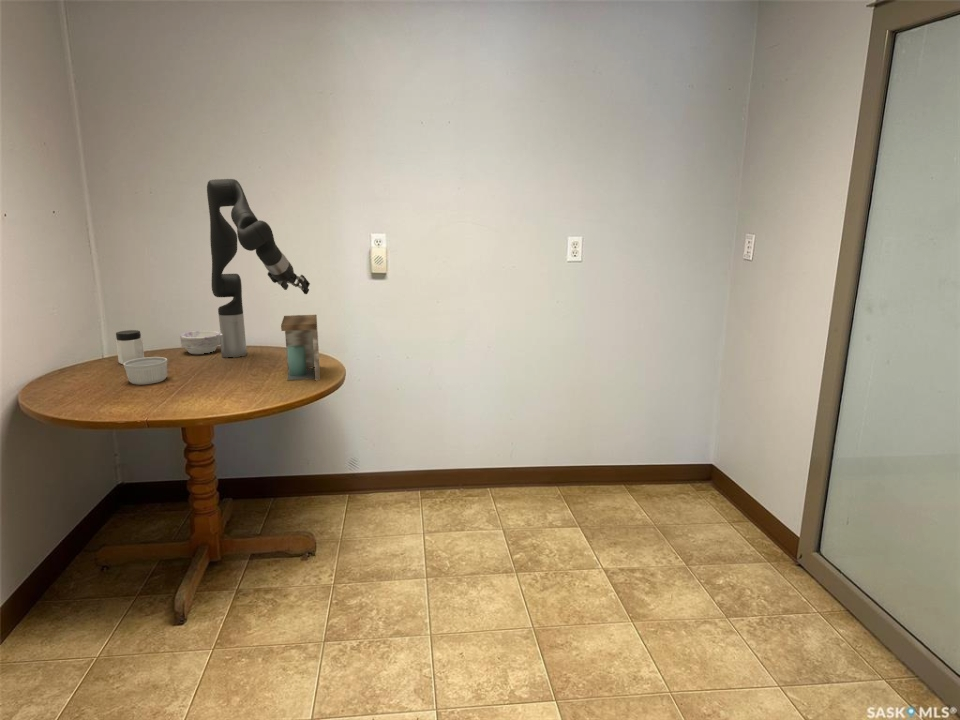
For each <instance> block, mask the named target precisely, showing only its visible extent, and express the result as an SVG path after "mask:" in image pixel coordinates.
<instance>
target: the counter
mask: <svg viewBox="0 0 960 720" xmlns="http://www.w3.org/2000/svg"><path fill="white" fill-rule="evenodd" d="M317 315H318V314H300V315H299V314H297V315H294V314H293V315H283V318H282V321H281V325H280V326H281V327H280V329H281V332H284V334H285V337H284V338H285V346H286V349H285V350H286V360H287V365H286V366H287V370H289V364H288V349H287V347H288V346H293V345H303V346H305V355H306V369H309V368H308V367H315V368H314V380H316V381H320V380H321V376H320V375H321V373H320V371H321V370H320V368H321V367H320V349H319V334H318V333H319V332H318V318H317Z"/></svg>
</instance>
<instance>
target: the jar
mask: <svg viewBox="0 0 960 720" xmlns="http://www.w3.org/2000/svg"><path fill="white" fill-rule="evenodd" d="M141 334H142V333H141V331H140V330H138V329H137V330H136V329H130V330H129V329H128V330H120V331H117V332H115V337H116V338H115V344H116V351H117V359H118V363H119V364H121V365H123V366H124V363H125V362H127V361H130V360H134V359H139V358H146V357H145V351H144V343H143V338H142V335H141Z"/></svg>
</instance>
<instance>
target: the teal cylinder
mask: <svg viewBox="0 0 960 720" xmlns="http://www.w3.org/2000/svg"><path fill="white" fill-rule="evenodd" d="M287 349H288V364H289V369H288V372H289V375H290V376H302V375H306V374H307V372H306V369H307V368H306V355H305V346H303V345H293V346H288V347H287Z"/></svg>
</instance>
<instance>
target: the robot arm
mask: <svg viewBox="0 0 960 720" xmlns="http://www.w3.org/2000/svg"><path fill="white" fill-rule="evenodd" d="M206 193H207V194H206V196H207V203H208V204H207V205H208V213H209V222H210V225H209V226H210V228H209V229H210V232H209V234H210V235H209V240H210V255H211V291H212V292H211V293H212V295H213V296H214V297H216V298H232V299H231V301H229V302H227V303H226V304H223V305H221V306H219V307H218V309H217V311H218V312H217V313H218V323H219V333H220V345H219V346H220V351H221V352H220V355H221V358H228V357H233V358H241V357H240V356H242V357H245V356H247V354H248V353H247V352H248V351H247V340H246V329H245V317H244V307H243V296H242V295H243V291H242V289H243V288H242V279H241V276H240V274H238V273H223V272H224V269H225V268H226V267H227V266H228V265H229V263H231V261H232V260H233V259H234V257H235V256H236V254H237V252H238V242H239V243H240V245H241V247H242V248H243V250H246V251H249V252H250V251H251V252H252V251H255V254H256V256H257V257H258V259H260V261H261V262H262V264H263V266H264V267H265V268H266V270H267V276H268V278H269V279H270V280H271V281H272V283H274V284H278V285H279V286H281V288H283V290H285V291H288V288H289V284H290V285H292V286H293V287H295V288H299V289H300V290H301V291H302V292H303V294H304V295H307V294H308V293H309V291H310V289H309V287H310V285H311V283H310V282H309V280H308V279H307V278H306V276H305V275H303V274H300V276H298V275H297V274H296V273H295V271H294V267H293V265H292V263H291V262H290V261H289V260H288V258H287V256H286V255H285V254H284V253H283V252H282V251H281V250H280V248H279V247H278V246H277V244H276V241H275V237H274V234H273V230H272V228H271V226H270V225H269V223H267V222H266V221H264V220H260V219H259V220H258V217H257V216H256V215H255V213H254V211H252V209H251V208H250V205H249V203H248V199H247V196H246V195H245V192H244V189H243V187H242V185H241V183H240V182H239V181H238V180H237V179H234V178H224V179H223V178H221V179H220V178H217V179H210V180H208V181H207V185H206ZM224 207H232V209H231V212H230V217H231V221H232V222H233V224H234V225H235V227H236V230H235V229H234V227H232V225H231V224H230V222H228V221H227V220H226V219H225V217H224V215H222V212H221V208H224ZM236 231H237V232H236Z"/></svg>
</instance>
